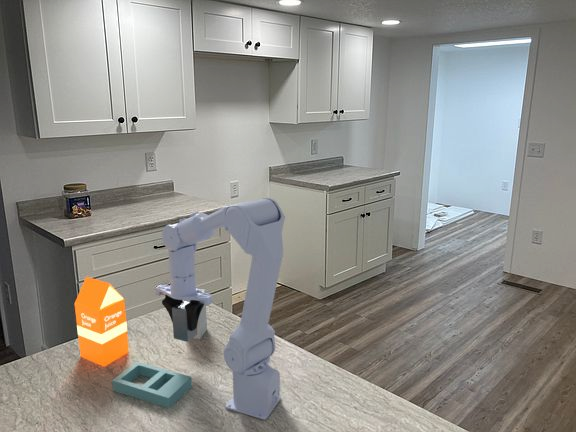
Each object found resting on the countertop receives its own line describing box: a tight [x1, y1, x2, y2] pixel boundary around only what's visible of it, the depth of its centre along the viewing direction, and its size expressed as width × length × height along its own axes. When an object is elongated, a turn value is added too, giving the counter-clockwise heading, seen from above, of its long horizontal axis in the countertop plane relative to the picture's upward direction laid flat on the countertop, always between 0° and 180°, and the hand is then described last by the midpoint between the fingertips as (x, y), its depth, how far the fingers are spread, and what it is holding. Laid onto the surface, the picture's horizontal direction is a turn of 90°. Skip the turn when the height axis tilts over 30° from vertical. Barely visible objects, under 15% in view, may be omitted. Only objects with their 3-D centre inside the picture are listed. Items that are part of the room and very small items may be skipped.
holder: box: [111, 361, 193, 409], centre depth 104 cm, size 15×8×2 cm, turn 67°
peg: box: [172, 300, 198, 343], centre depth 111 cm, size 4×4×8 cm
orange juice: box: [74, 276, 130, 367], centre depth 115 cm, size 8×9×20 cm
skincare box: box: [183, 288, 208, 340], centre depth 126 cm, size 6×4×12 cm
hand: (185, 327), depth 111 cm, fingers closed on peg, 4 cm apart
